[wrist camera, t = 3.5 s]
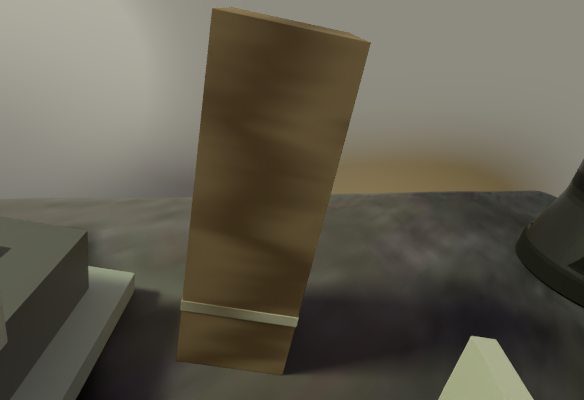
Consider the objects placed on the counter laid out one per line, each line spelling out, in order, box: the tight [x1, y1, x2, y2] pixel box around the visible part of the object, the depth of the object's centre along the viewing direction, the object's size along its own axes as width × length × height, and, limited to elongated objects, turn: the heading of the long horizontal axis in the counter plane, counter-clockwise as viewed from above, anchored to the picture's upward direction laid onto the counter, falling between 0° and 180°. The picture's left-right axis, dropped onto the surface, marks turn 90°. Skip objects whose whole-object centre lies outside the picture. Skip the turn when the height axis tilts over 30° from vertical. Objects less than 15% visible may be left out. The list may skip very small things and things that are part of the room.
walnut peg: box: [176, 8, 371, 375], centre depth 21 cm, size 6×6×18 cm
